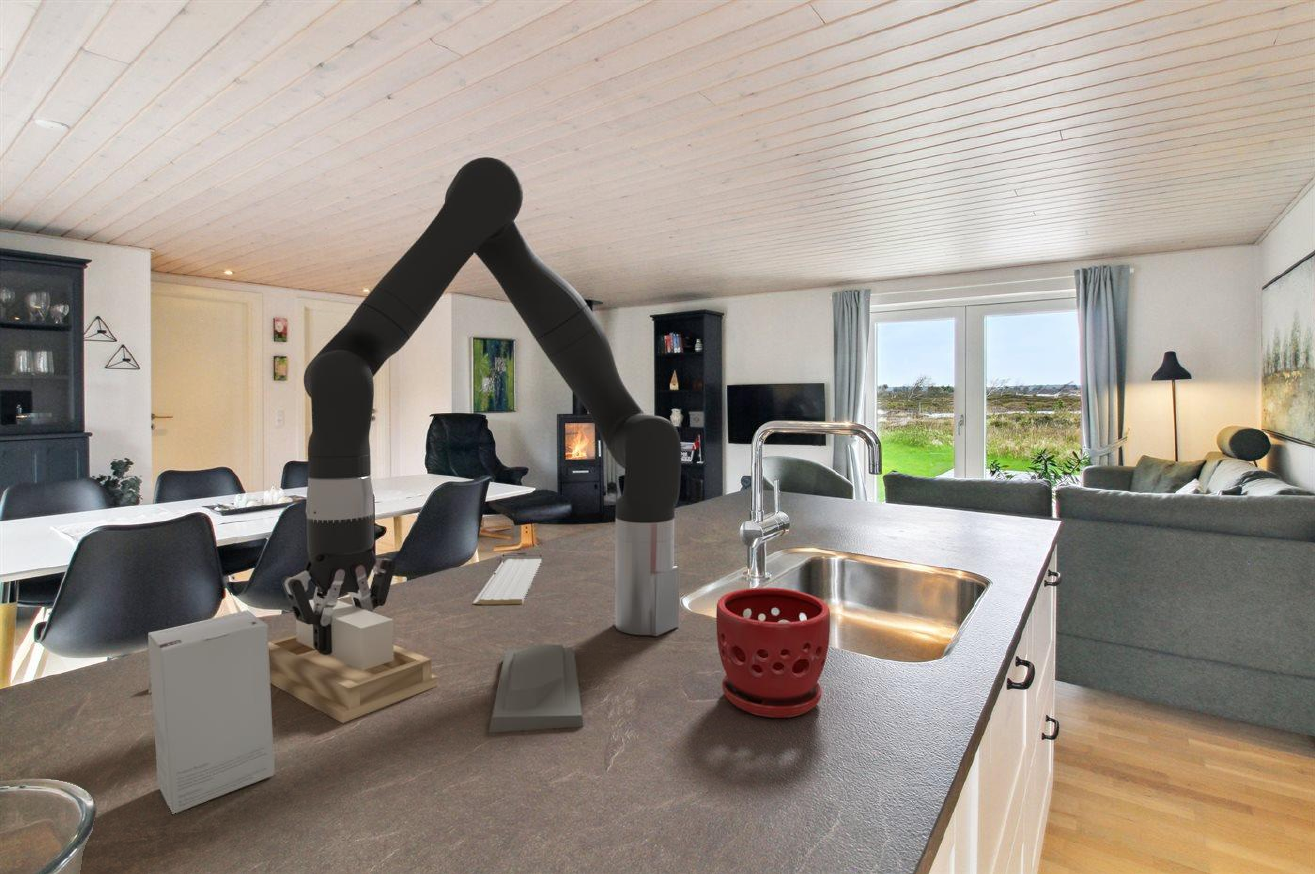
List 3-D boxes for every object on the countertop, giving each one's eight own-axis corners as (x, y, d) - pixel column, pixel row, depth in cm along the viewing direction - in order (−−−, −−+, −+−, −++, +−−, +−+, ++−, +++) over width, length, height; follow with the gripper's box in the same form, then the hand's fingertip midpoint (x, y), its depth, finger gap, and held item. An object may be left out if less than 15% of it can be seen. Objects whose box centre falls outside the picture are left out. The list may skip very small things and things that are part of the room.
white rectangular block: (393, 660, 80) (393, 619, 80) (362, 670, 77) (361, 628, 76) (327, 632, 89) (326, 596, 89) (296, 640, 86) (295, 603, 86)
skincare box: (256, 755, 65) (252, 607, 65) (277, 778, 61) (273, 621, 61) (151, 790, 59) (145, 627, 59) (166, 820, 55) (160, 645, 54)
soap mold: (487, 738, 70) (486, 705, 70) (502, 664, 90) (501, 639, 90) (584, 731, 72) (584, 700, 72) (577, 660, 91) (577, 636, 91)
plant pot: (696, 689, 81) (697, 593, 81) (786, 672, 86) (787, 582, 86) (752, 738, 69) (753, 626, 69) (852, 716, 74) (854, 611, 74)
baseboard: (464, 607, 115) (522, 607, 115) (464, 591, 115) (522, 591, 115) (495, 565, 145) (541, 565, 145) (495, 552, 145) (541, 552, 145)
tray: (437, 685, 82) (437, 657, 81) (342, 723, 72) (342, 690, 72) (343, 646, 95) (343, 621, 94) (253, 673, 85) (252, 645, 85)
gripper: (296, 524, 74) (299, 673, 75) (409, 508, 86) (411, 638, 87) (265, 517, 79) (269, 658, 80) (377, 502, 90) (379, 626, 91)
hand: (343, 646), depth 83 cm, fingers closed on white rectangular block, 4 cm apart
